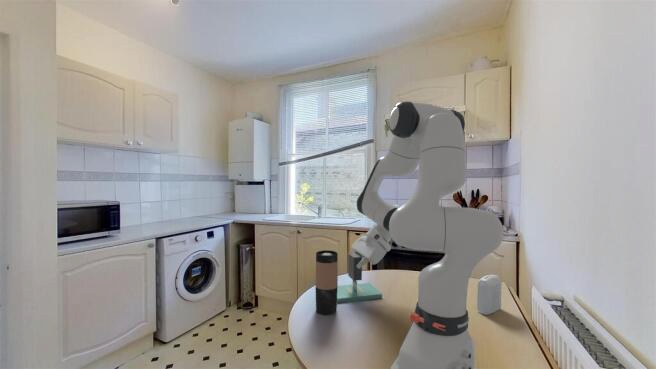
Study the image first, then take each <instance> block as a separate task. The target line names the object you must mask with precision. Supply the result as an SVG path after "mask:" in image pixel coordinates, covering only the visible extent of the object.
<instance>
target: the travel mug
mask: <svg viewBox="0 0 656 369" xmlns="http://www.w3.org/2000/svg"><path fill="white" fill-rule="evenodd" d="M315 256H316V257H315V310H316V313H317V314H319V315H322V316H331V315H334V314H335V313H336V312H337V309H338V308H337V307H338V303H337V288H338V286H339V285H338V284H339V283H338V281H339V280H338V278H339V274H338V269H339V265H338V256H339V255H338V251H335V250H327V249H326V250H318V251H317V252H316V253H315Z"/></svg>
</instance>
